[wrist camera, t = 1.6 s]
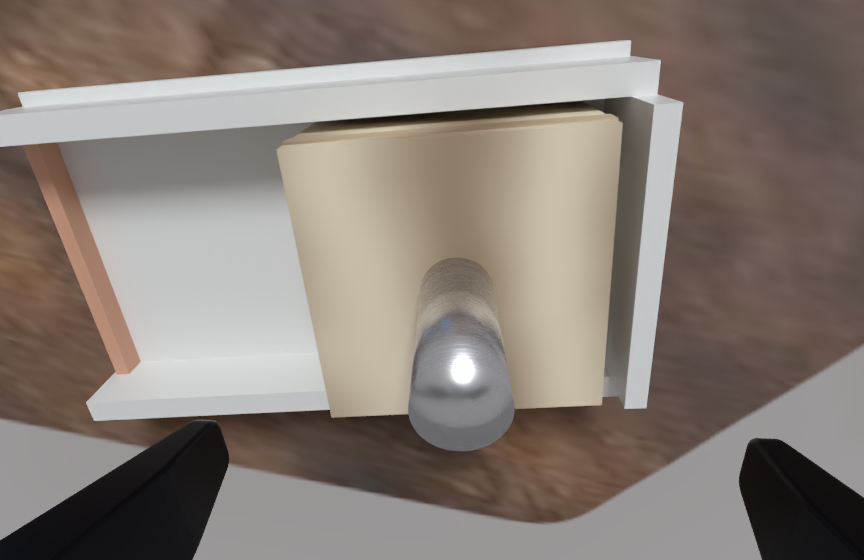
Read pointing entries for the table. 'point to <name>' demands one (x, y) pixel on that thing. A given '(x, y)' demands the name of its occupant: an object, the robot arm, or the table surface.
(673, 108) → the bay
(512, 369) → the beige knobbed block
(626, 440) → the table surface
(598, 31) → the table surface
